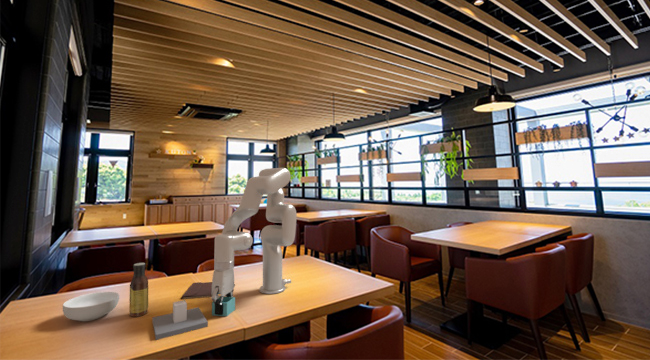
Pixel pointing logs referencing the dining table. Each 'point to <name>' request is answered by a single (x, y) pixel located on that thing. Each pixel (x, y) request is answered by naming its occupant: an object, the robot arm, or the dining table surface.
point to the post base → (178, 327)
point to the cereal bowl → (90, 306)
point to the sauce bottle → (138, 291)
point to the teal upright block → (225, 306)
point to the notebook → (198, 290)
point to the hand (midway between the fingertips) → (223, 310)
